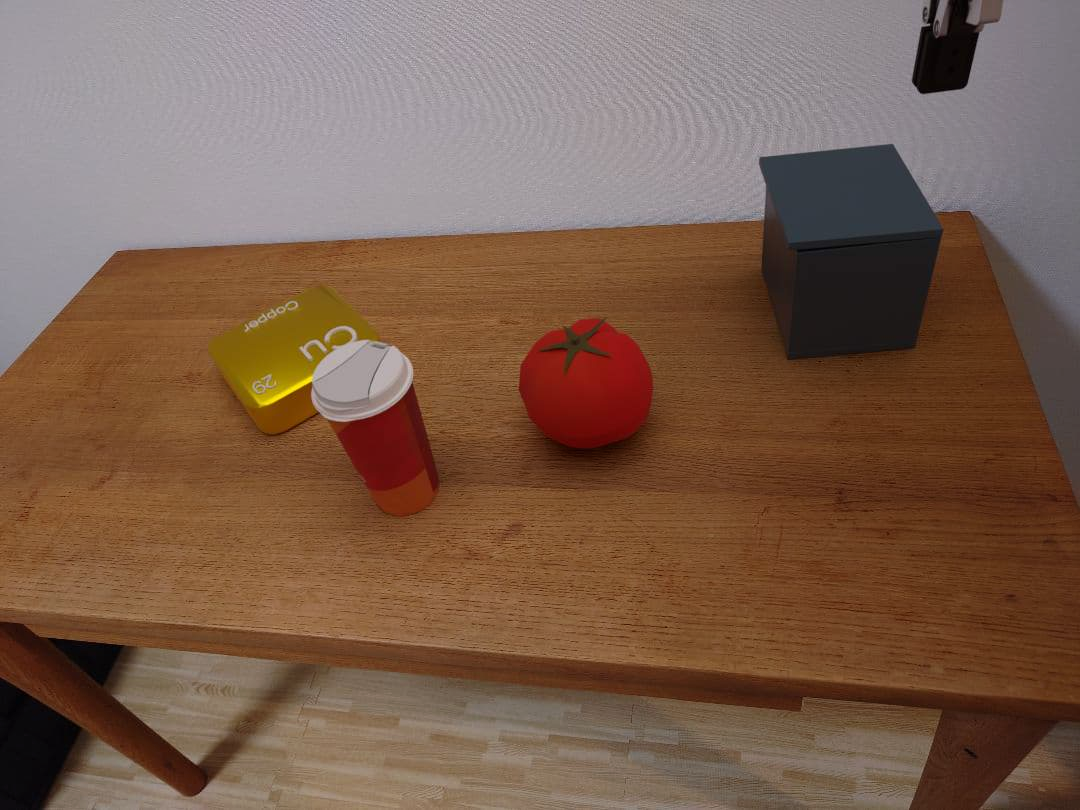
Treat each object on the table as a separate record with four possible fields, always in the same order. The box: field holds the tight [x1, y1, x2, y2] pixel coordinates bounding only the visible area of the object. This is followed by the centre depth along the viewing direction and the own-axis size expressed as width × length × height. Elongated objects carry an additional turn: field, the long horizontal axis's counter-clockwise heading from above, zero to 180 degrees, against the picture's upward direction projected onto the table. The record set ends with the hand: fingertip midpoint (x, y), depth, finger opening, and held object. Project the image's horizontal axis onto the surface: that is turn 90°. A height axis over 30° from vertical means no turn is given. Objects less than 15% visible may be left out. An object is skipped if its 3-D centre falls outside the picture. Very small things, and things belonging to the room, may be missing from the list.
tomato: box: [518, 315, 654, 450], centre depth 71 cm, size 12×12×11 cm
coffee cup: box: [311, 340, 440, 517], centre depth 68 cm, size 8×8×15 cm
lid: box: [758, 143, 945, 250], centre depth 73 cm, size 13×15×1 cm
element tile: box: [207, 284, 382, 436], centre depth 85 cm, size 15×15×5 cm
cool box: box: [760, 186, 942, 360], centre depth 77 cm, size 12×15×12 cm
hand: (938, 86), depth 56 cm, fingers closed
